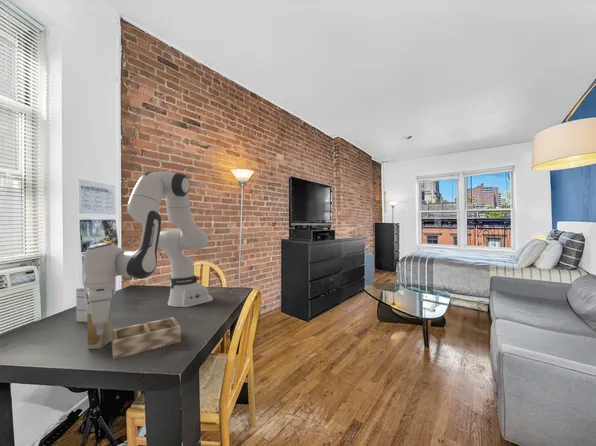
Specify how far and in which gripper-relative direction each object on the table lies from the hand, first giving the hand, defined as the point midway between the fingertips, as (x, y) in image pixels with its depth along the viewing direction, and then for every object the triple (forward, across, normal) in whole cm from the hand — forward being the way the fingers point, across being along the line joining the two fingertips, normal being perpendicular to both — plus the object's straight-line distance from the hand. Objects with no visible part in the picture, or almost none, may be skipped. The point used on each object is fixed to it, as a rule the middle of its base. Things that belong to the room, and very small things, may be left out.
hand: (99, 329), depth 89 cm
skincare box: (+6, 0, 0) cm, 6 cm away
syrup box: (+6, -33, -4) cm, 34 cm away
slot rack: (+5, +9, +13) cm, 17 cm away
